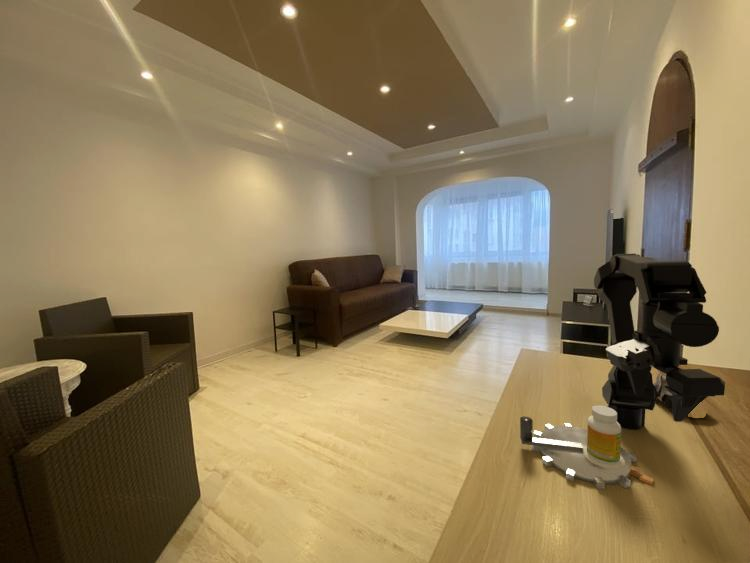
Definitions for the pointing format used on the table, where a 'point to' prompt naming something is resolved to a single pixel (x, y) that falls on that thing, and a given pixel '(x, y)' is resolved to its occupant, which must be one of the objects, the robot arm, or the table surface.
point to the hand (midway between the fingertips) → (656, 407)
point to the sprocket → (576, 454)
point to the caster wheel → (663, 391)
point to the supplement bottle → (604, 435)
